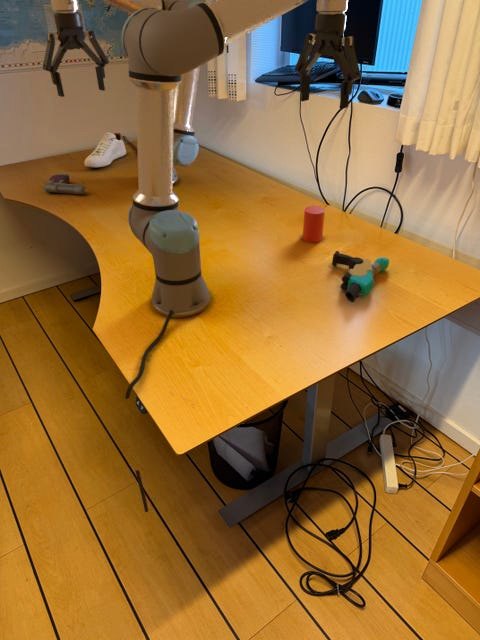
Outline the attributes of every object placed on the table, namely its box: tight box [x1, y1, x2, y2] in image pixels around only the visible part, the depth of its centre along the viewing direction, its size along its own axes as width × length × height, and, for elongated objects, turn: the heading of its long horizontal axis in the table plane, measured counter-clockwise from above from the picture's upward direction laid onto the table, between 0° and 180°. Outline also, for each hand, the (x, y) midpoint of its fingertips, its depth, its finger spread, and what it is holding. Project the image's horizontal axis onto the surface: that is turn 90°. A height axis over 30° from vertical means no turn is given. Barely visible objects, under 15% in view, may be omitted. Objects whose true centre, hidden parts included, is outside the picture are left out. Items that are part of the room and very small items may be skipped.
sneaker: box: [83, 131, 127, 169], centre depth 218 cm, size 10×29×12 cm, turn 163°
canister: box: [302, 205, 326, 243], centre depth 152 cm, size 6×6×10 cm
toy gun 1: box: [42, 173, 87, 195], centre depth 192 cm, size 4×19×15 cm
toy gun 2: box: [331, 250, 390, 303], centre depth 132 cm, size 4×26×15 cm
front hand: (323, 104), depth 131 cm, fingers open, 13 cm apart
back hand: (82, 93), depth 148 cm, fingers open, 13 cm apart
